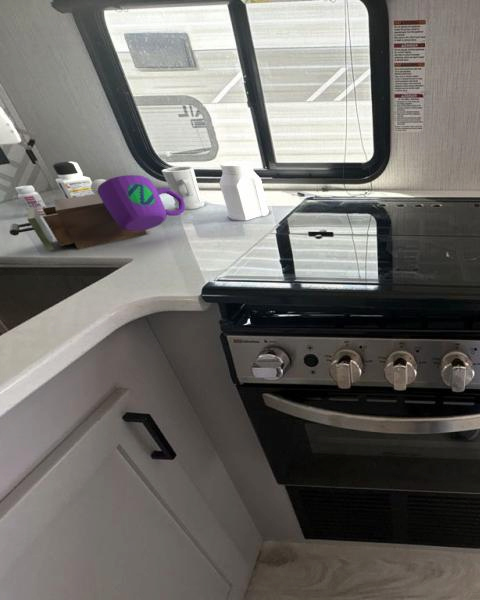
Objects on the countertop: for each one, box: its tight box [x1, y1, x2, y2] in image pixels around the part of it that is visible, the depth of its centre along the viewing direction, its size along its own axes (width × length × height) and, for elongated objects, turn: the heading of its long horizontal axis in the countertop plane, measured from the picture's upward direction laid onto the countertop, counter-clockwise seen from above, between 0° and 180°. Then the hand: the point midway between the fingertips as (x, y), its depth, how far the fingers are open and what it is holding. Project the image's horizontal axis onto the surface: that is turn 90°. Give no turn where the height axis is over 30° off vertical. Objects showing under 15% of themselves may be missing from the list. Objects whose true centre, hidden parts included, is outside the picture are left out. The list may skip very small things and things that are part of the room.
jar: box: [218, 160, 269, 221], centre depth 99 cm, size 12×10×15 cm
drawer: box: [9, 205, 75, 252], centre depth 82 cm, size 18×11×8 cm, turn 133°
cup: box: [161, 166, 206, 211], centre depth 108 cm, size 10×9×12 cm
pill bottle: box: [14, 185, 47, 216], centre depth 105 cm, size 5×5×8 cm
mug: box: [98, 174, 186, 231], centre depth 84 cm, size 17×11×10 cm
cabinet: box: [53, 194, 148, 250], centre depth 87 cm, size 15×13×10 cm
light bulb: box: [91, 178, 108, 194], centre depth 106 cm, size 6×6×10 cm
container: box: [52, 161, 94, 199], centre depth 117 cm, size 8×8×13 cm
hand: (13, 166), depth 100 cm, fingers open, 9 cm apart
